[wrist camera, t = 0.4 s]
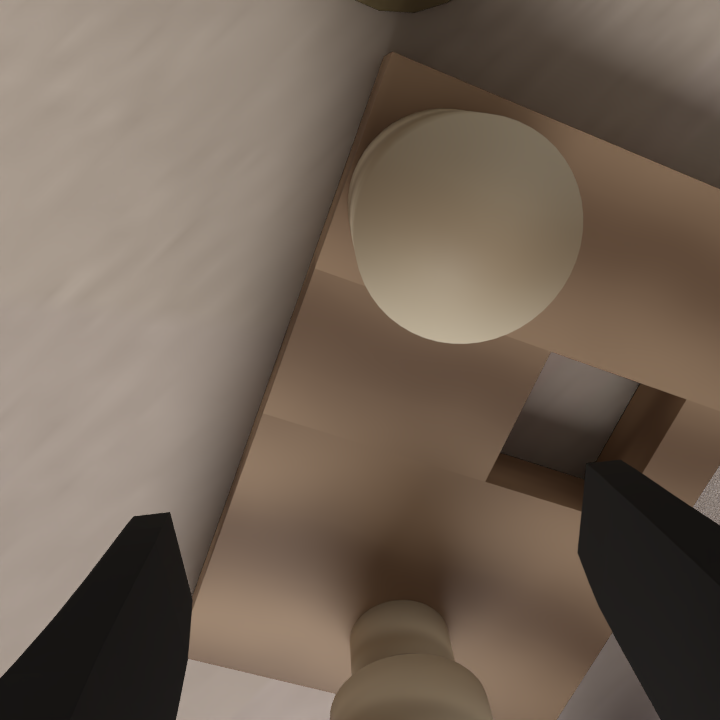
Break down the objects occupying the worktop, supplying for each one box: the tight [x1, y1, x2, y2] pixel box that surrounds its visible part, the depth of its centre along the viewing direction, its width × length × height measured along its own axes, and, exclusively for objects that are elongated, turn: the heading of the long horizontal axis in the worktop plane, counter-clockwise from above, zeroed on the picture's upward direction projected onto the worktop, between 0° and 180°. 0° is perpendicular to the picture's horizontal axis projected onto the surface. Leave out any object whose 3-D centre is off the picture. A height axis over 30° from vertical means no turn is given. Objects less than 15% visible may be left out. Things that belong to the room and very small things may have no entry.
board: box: [188, 52, 720, 720], centre depth 20 cm, size 20×14×6 cm
